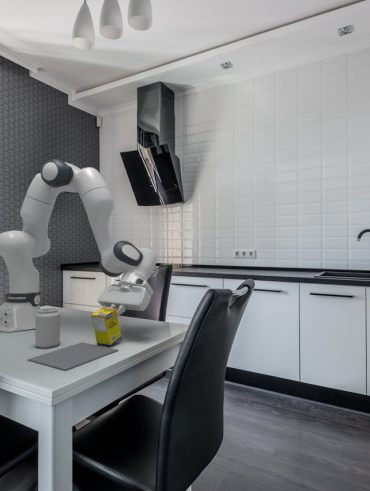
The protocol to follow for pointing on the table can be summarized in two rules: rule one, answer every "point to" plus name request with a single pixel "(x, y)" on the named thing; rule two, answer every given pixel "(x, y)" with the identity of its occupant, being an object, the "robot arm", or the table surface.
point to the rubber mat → (72, 356)
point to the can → (47, 328)
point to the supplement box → (106, 326)
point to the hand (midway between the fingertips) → (112, 317)
